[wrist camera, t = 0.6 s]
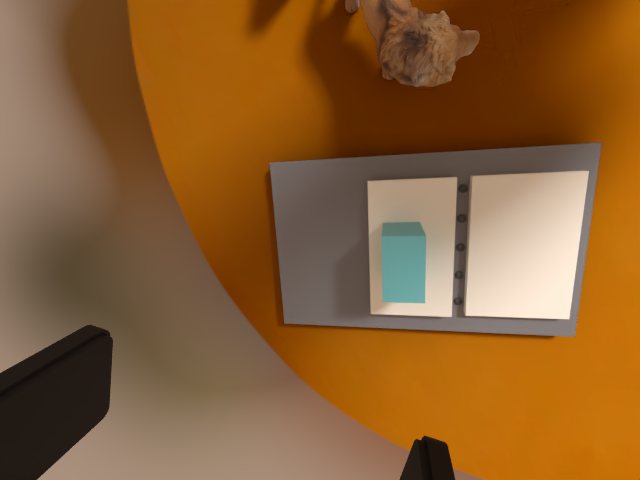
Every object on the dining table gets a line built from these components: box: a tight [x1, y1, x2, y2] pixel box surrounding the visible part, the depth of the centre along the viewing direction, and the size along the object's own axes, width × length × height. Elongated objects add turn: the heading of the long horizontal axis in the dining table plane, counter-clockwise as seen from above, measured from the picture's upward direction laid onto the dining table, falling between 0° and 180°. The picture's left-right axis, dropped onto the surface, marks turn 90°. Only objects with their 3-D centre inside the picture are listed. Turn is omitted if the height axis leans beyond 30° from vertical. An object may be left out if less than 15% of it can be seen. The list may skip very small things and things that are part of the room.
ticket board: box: [270, 142, 602, 337], centre depth 29 cm, size 26×16×2 cm, turn 93°
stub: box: [367, 177, 457, 317], centre depth 26 cm, size 7×12×6 cm, turn 3°
